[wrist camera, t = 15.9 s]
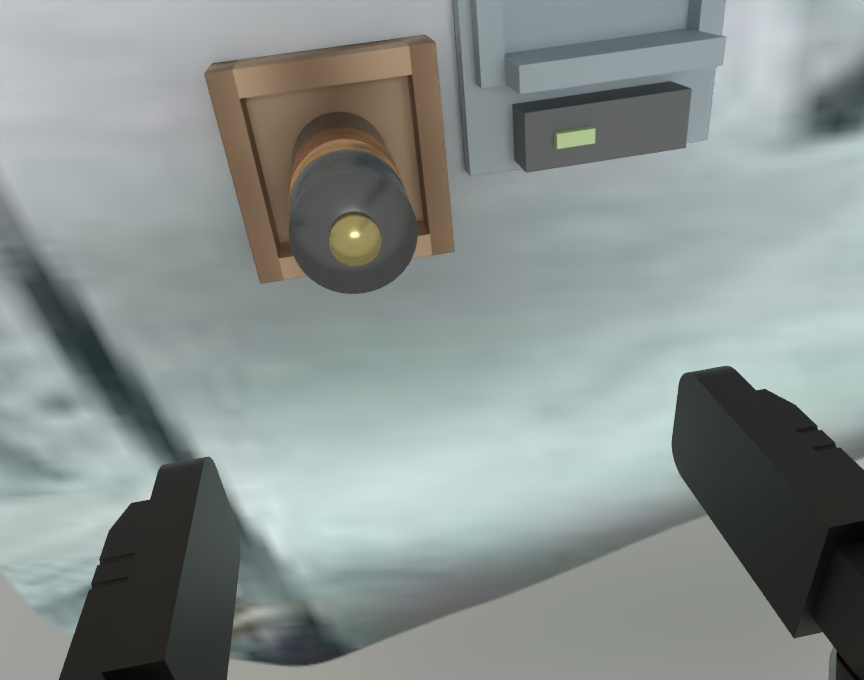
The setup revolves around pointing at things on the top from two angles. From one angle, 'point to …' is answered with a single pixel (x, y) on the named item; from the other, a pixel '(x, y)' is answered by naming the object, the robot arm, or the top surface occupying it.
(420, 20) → the top surface
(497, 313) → the top surface
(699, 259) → the top surface
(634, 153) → the tray
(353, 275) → the cell
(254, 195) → the trough
